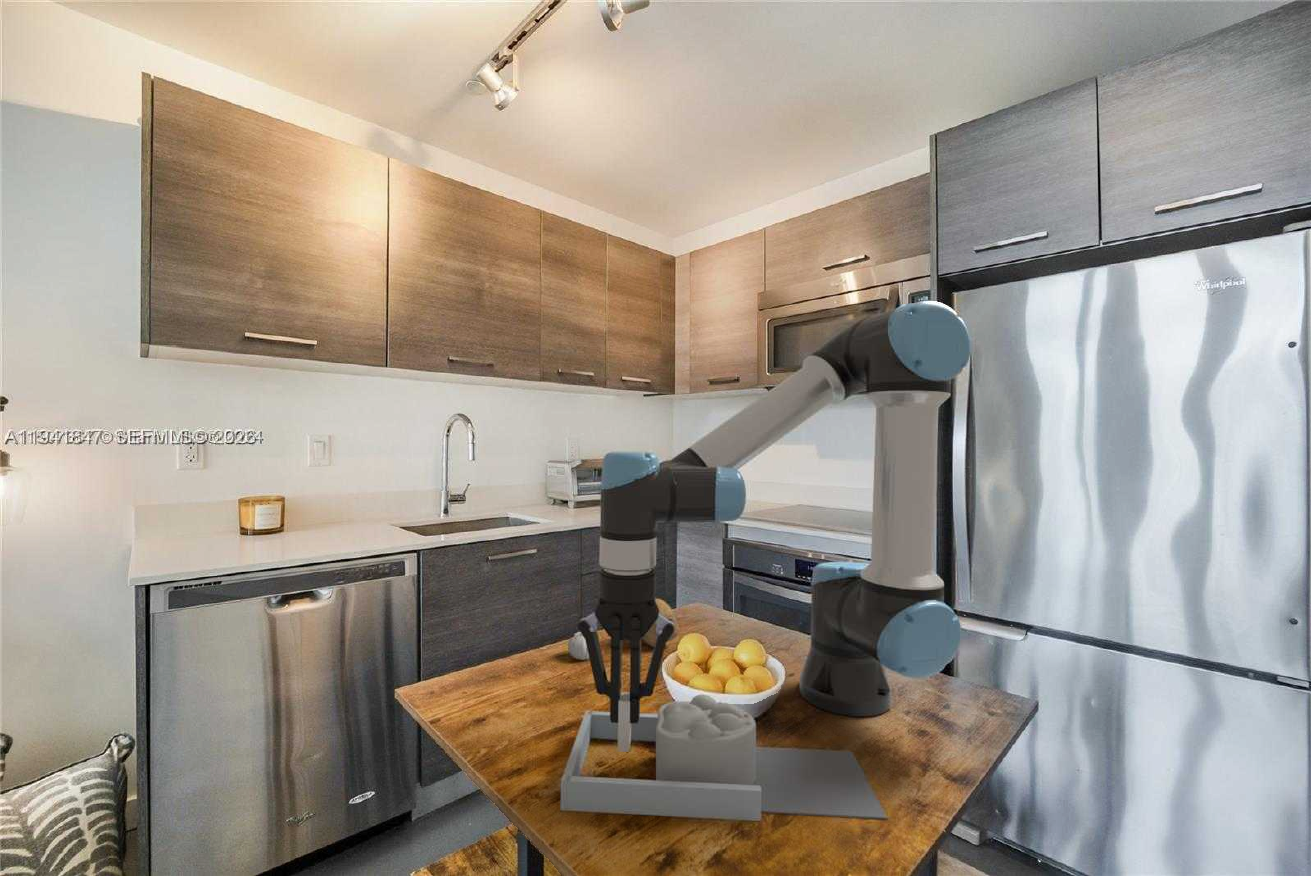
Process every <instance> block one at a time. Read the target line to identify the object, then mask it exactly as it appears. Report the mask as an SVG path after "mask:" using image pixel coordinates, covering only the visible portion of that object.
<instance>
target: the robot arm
mask: <svg viewBox="0 0 1311 876" xmlns="http://www.w3.org/2000/svg"><path fill="white" fill-rule="evenodd" d="M971 343H972V341H971V336H970V332H969V330H968V328H967V326H966V323H965V322H964V320H963V318H962V317H959V316H958V315H957V312H956V311H955V310H954V309H952V308H951V307H950V306H948V305H946V304H944V303H942V302H938V301H934V300H922V301H918V302H914V303H905V304H902V305H900V306H898V307H896V308H892V309H890V310H887V311H884V312H881V313H878V314H875V315H871V316H868V317H864V318H862V319H860V320H858V321H856V322H853V323H852V324H850V325H849V326H847V327H845V328H844V329H843V330H841V331H840V332H839V333H838V334H836V335H835V336H834V337H832V338H831V339H830V340H828V341H827V342H826V343H824V344H823V345H822V346H820V347H819V348H817V350H815V351H813V352H812V353H811V354H809V355H808V356H807V357H806V358H805V359H803V361H802V367H801V368H799V369H798V370H797V371H795V372H794V373H793V374H791V375H790V376H788V377H787V378H785V379H784V380H783V381H781V382H780V383H779V384H777V385H776V386H774V387H773V388H771V389H770V390H769V391H767V392H766V393H765V394H763V395H761V396H760V397H758V398H757V399H755V400H754V401H753V402H751V403H750V404H749V405H747V406H745V407H744V408H742V409H741V410H740V411H739V412H737V413H736V414H734V415H733V416H731V417H730V418H729V419H727V420H725V421H724V422H723V423H722V424H720V425H719V426H717V427H715V428H714V429H713V430H712V431H710V432H709V433H707V434H706V435H705V436H702V438H700V439H698V440H697V441H696V442H695V443H693V444H692V445H690V446H689V447H687V448H686V449H684V450H683V451H681V452H680V453H679V454H677V455H676V456H674V457H673V458H671V459H668V460H664V461H661V462H659V457H658V455H657V454H656V453H655V452H650V451H649V452H648V451H610V452H608V453H607V454H605V455H604V457H603V460H602V465H601V478H600V479H601V480H600V481H601V482H600V485H599V488H600V510H599V512H600V514H599V515H600V526H599V527H600V529H599V530H600V534H599V561H598V562H599V566H600V567H602V568H601V569H600V571H599V575H598V576H599V577H598V602H597V604H596V605H595V608H594V612H592V613H590V614H589V615H584V616H582V618H581V619H580V621H579V622H578V624H577V629H578V631H579V632H581V634H582V635H583V637H584V638H585V640H586V645H587V650H588V654H589V662H590V667H591V672H592V675H593V681H594V685H595V690H596V693H597V694H599V695H604V696H605V695H606V696H607V697H608V698H609V700H610V701H609V702H610V705H609V709H610V710H609V712H610V720H611V723H618V740H617V752H628V753H629V752H630V747H631V742H632V740H631V723H636V724H637V723H638V721H639V715H640V713H641V712H640V711H641V706H640V705H641V699H642V698H644V697H651V696H652V695H653V694H654V689H655V686H656V682H657V679H658V675H659V670H660V667H661V663H662V659H663V655H664V652H665V648H666V643H667V640H668V639H669V638H670V636H671V635H672V633H673V632H674V621H673V620H672V619H666V618H665V617H663V616H662V615H660V614H659V608H658V606H657V604H656V600H655V599H656V598H657V597H656V596H657V595H656V592H657V591H656V588H657V586H656V585H657V572H656V571H655V569H653V568H655V567H656V565H657V545H658V543H657V541H658V539H657V538H658V537H657V536H658V535H657V533H658V530H657V528H658V524H659V523H663V524H667V523H668V524H669V523H715V524H720V523H723V522H734V521H737V520H738V519H739V518H741V516H742V515H743V513H744V511H745V509H746V508H745V506H746V501H747V500H746V499H747V490H746V488H747V487H746V483H745V480H744V477H743V475H742V474H741V472H740V471H739V469H741V468H742V467H743V466H744V465H746V464H748V463H749V462H750V461H751V460H753V459H754V458H756V457H757V456H758V455H760V454H761V453H763V452H764V451H765V450H767V449H768V448H770V447H771V446H772V445H774V444H775V443H777V442H778V441H780V440H781V439H782V438H783V437H785V436H787V435H788V434H789V433H790V432H792V431H793V430H795V429H796V428H797V427H799V426H800V425H802V424H803V423H804V422H806V421H807V420H808V419H810V418H811V417H813V416H814V415H815V414H817V413H818V412H819V411H821V410H822V409H824V408H825V407H827V406H828V405H829V404H830V405H840V404H841V403H843V402H844V401H846V400H847V399H848V398H850V397H851V396H854V395H856V394H858V393H860V392H864V391H865V397H866V399H868V400H869V401H870V402H871V403H872V404H873V406H875V431H874V432H875V434H874V436H875V437H874V455H873V456H874V458H873V459H874V460H873V462H874V463H873V486H872V487H873V490H872V493H873V495H872V518H871V519H872V520H871V521H872V522H871V547H870V548H871V550H870V562H860V561H858V562H857V561H830V562H822V563H818V564H816V565H815V567H814V568H813V570H812V578H811V583H810V587H811V610H810V611H811V613H810V616H811V617H810V620H811V622H810V646H809V650H808V653H807V656H806V659H805V660H804V664H803V667H802V668H801V669H802V670H801V673H800V676H799V689H798V690H799V693H800V695H801V696H802V697H803V698H804V699H805V700H806V701H807V702H808V703H810V704H812V705H813V706H814V707H815V706H816V707H818V708H820V709H822V710H824V711H827V712H831V713H834V714H839V715H843V716H850V717H873V716H878V715H881V714H884V713H885V712H887V711H889V710H890V708H891V706H892V688H891V684H890V681H889V678H888V673H887V671H886V669H888V670H890V671H892V672H896V673H898V674H900V675H902V676H904V677H906V678H910V679H919V680H920V679H926V678H929V677H932V676H935V675H937V674H938V673H940V672H941V671H944V668H946V665H948V664H950V663H951V662H952V660H953V659H954V658H955V656H956V654H957V653H958V650H959V647H960V644H961V640H962V627H961V622H960V618H959V616H958V615H956V614H955V611H954V610H953V609H952V608H951V607H950V606H949V605H947V604H946V603H945V602H944V601H945V600H944V599H945V597H944V596H945V582H944V580H943V579H942V578H941V577H940V576H939V575H938V574H937V573H936V571H935V570H934V547H935V521H936V520H935V519H936V490H937V465H938V464H937V461H938V459H937V458H938V436H939V435H938V430H939V429H938V428H939V427H938V426H939V408H940V406H941V405H942V404H944V403H945V402H946V401H947V400H948V399H949V398H950V397H951V394H952V393H951V392H952V391H951V390H952V380H953V379H955V378H956V377H957V376H958V375H959V374H961V373H962V372H963V368H965V367H967V365H968V363H969V361H970V356H971V351H972V344H971ZM598 623H599V624H600V626H601V627H602V628H603V630H604V631H605V633H606V634H607V636H609V637H610V677H609V679H610V680H608V676H607V671H606V666H605V662H604V656H603V652H602V648H601V643H600V640H599V639H600V638H599V635H598V631H597V630H598V627H599V624H598ZM654 623H656V624H657V626H656V633H657V634H658V636H657V639H656V643H655V647H653V649H652V650H653V651H652V655H651V659H650V662H649V666H648V669H647V674H646V677H645V682H644V681H643V682H641V680H642V679H641V676H642V675H641V672H642V671H641V669H642V668H641V667H642V666H641V665H642V639H643V637H644V636H645V634H646V633H647V632H648V630H649V629H650V628H651V627H652V625H653V624H654ZM624 640H628V641H629V642H630V643H629V645H630V647H629V648H630V659H629V661H630V662H629V664H630V666H629V667H630V669H629V692H628V691H622V690H621V689H622V685H623V684H622V671H623V670H622V669H623V667H622V665H623V661H622V660H623V641H624Z"/></svg>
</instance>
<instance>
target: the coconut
mask: <svg viewBox="0 0 1311 876" xmlns="http://www.w3.org/2000/svg"><path fill="white" fill-rule="evenodd" d="M655 600H656V604H657V606H658V608H659V614H660V615H662V616H663V617H665V618H666V619H672V620H673V621H674V632H673V633H672V635H671V636H670V638H669V639H668V640H667V642H670V641H672V640H674V639H675V638H676V637H677V636H678V634H679V624H678V623H679V622H678V621H677V619H676V616H675V614H674V611H673V609H672V607H671V606H670V604H668V603H667V602H666V601H664V600H663V599H661V598H657V597H656V599H655ZM656 626H657V624H656V623H654V624H653V625H652V627H651V628H650V629H649V630H648V632H647V633H646V634H645V636H644V637H643V638H642V639H643V641H644V642H645V643H646V644H647V645H649V646H650V647H652V648H654V647H655V643H656V639H657V636H658V634H657V633H656ZM667 642H666V643H667Z"/></svg>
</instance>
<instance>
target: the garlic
mask: <svg viewBox="0 0 1311 876" xmlns="http://www.w3.org/2000/svg"><path fill="white" fill-rule="evenodd" d="M567 650H568V652H569V654H570V655H571V657H573V658H574V659H576V660H579V661H585V660H588V659H589V654H588V650H587V645H586V640H585V638H584V637H583V635H582V634H581V632H580V631H578V632H576V633H574V634H573V637H570V639H569V640H568V642H567ZM589 660H590V659H589Z"/></svg>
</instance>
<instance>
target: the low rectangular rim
mask: <svg viewBox="0 0 1311 876" xmlns="http://www.w3.org/2000/svg"><path fill="white" fill-rule="evenodd" d="M657 724H658V713H644V712H643V713H641V712H640V715H639V721H638V723H637V724H636V723H631V741H635V742H636V741H638V742H656V727H657ZM594 738H595V740H597V739H596V738H598V740H599V739H600V740H615V741H616V740H617V741H618V723H611V720H610V711H597V710H594V711H593V710H585V712H584V715H583V718H582V721H581V722H580V726H579V728H578V733H577V735H576V738H575V741H574V743H573V746H572V749H571V751H570V754H569V757H568V760H567V763H566V765H565V768H564V772H563V775H562V777H561V780H560V811H568V812H569V811H570V812H585V813H586V812H587V813H604V814H606V813H607V814H624V815H625V814H626V815H627V814H628V815H643V816H657V817H658V816H660V817H677V818H678V817H680V818H695V819H697V818H698V819H699V818H700V819H715V820H716V819H717V820H735V821H736V820H737V821H739V820H740V821H750V822H751V821H757V822H762V813H761V792H762V791H761V786H757V785H737V784H718V783H698V782H678V781H659V780H656V779H655V780H653V779H637V778H618V777H617V778H616V777H597V776H596V777H595V776H580V775H581V772H582V769H583V765H584V762H585V759H586V756H587V753H588V749H589V746H590V743H591V739H594Z"/></svg>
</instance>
